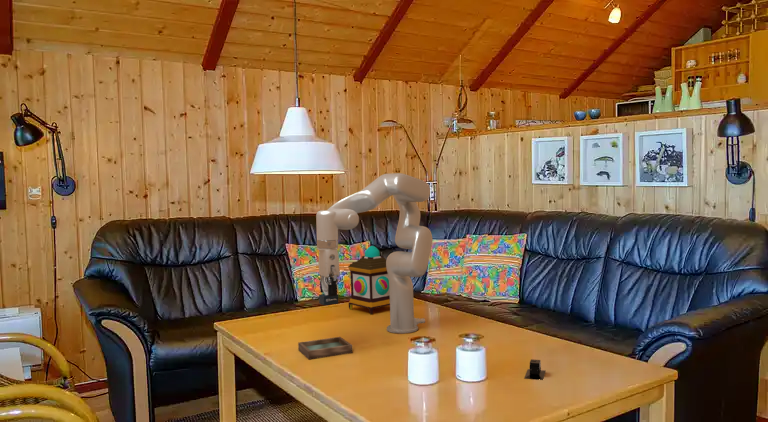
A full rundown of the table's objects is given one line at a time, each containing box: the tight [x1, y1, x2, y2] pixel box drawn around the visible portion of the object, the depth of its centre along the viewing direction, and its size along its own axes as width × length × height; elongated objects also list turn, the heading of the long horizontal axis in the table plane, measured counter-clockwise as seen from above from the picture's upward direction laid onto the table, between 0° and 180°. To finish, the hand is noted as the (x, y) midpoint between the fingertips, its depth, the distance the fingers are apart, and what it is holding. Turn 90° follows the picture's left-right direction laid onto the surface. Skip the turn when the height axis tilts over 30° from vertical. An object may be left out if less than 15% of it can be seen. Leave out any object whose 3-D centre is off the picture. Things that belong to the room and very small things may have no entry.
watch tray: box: [297, 336, 353, 360], centre depth 214 cm, size 16×13×3 cm
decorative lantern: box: [347, 245, 390, 316], centre depth 281 cm, size 20×20×30 cm
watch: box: [318, 275, 339, 306], centre depth 214 cm, size 6×8×11 cm
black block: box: [523, 358, 547, 381], centre depth 182 cm, size 12×7×5 cm, turn 160°
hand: (328, 293), depth 214 cm, fingers closed on watch, 8 cm apart
